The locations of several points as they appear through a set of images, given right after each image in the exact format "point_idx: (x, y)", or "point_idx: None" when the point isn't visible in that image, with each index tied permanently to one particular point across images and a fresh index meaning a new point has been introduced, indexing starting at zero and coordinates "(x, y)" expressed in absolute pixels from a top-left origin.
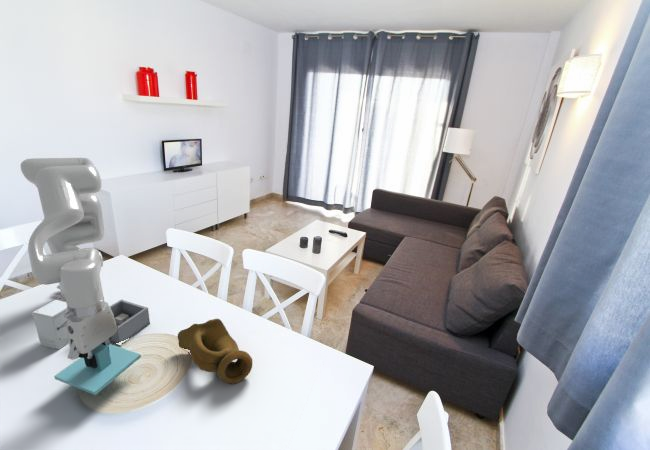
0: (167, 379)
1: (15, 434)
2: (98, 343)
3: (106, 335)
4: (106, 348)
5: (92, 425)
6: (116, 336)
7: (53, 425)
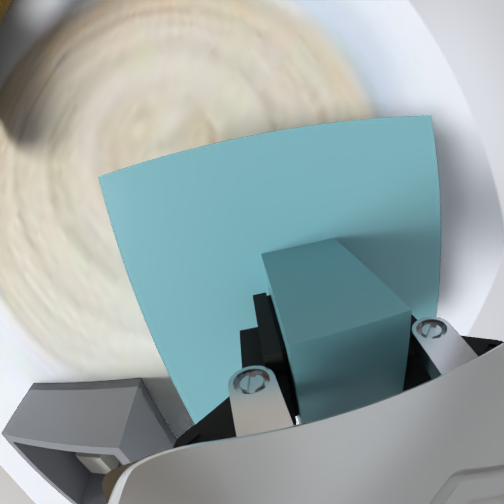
0: (116, 36)
1: (493, 257)
2: (469, 392)
3: (339, 494)
4: (307, 331)
5: (410, 85)
6: (137, 419)
7: (459, 200)
